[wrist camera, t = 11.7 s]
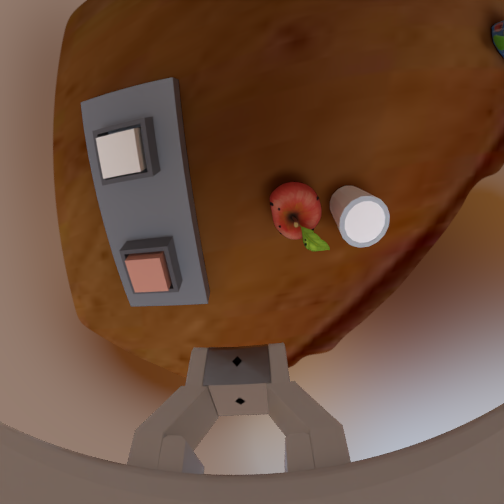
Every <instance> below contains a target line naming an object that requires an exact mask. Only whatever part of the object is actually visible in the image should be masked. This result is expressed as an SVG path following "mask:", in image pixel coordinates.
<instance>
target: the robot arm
mask: <svg viewBox="0 0 504 504" xmlns="http://www.w3.org/2000/svg"><path fill="white" fill-rule="evenodd" d="M268 348H269V349H268ZM257 414H258V415H259V414H269V416H270V417H271V418H272V420H273V421H274V422H275V423H276V425H277V426H278V427H279V428H280V429H281V431H282V432H283V433H284V435H285V436H286V438H285V473H273V474H256V475H211V474H204V466H203V464H202V463H201V461H200V460H199V459H198V457H197V456H196V454H195V453H194V450H195V448H196V447H197V446H198V444H199V443H200V442H201V440H202V439H203V438H204V436H205V435H206V434H207V432H208V431H209V430H210V428H211V427H212V426H213V424H214V423H215V421H216V420H217V419H218V416H233V415H257ZM0 504H504V403H503V404H502V405H500V406H498V407H497V408H495V409H493V410H491V411H489V412H488V413H486V414H484V415H482V416H480V417H478V418H476V419H474V420H472V421H470V422H468V423H466V424H464V425H462V426H460V427H457V428H455V429H453V430H451V431H448V432H446V433H444V434H441V435H439V436H436V437H434V438H431V439H429V440H426V441H423V442H421V443H418V444H415V445H412V446H409V447H406V448H403V449H400V450H397V451H393V452H390V453H387V454H383V455H380V456H376V457H372V458H368V459H364V460H360V461H355V462H351V461H350V456H349V452H348V447H347V443H346V439H345V434H344V430H343V426H342V425H341V424H340V423H339V422H338V421H337V420H336V419H335V418H333V416H331V415H330V414H329V413H328V412H327V411H326V410H325V409H324V408H323V407H321V406H320V405H319V404H318V403H317V402H316V401H315V400H314V399H313V398H311V396H310V395H308V394H307V393H306V392H305V391H304V390H303V389H302V388H301V387H300V386H299V385H298V384H297V383H296V382H295V381H291V382H290V379H289V372H288V365H287V357H286V350H285V345H284V343H277V344H269V345H268V344H265V345H253V346H239V347H209V348H193V350H192V353H191V358H190V363H189V369H188V374H187V380H186V385H185V386H181V387H180V388H179V389H178V390H177V391H176V392H174V393H173V394H172V395H171V396H170V397H169V398H168V399H167V400H166V401H165V402H164V403H163V404H162V405H161V406H160V407H159V408H158V409H157V410H156V411H155V412H154V413H153V414H152V415H151V416H150V417H149V418H148V419H146V421H144V422H143V423H142V424H141V425H140V426H139V427H138V428H137V429H136V430H135V433H134V438H133V441H132V445H131V450H130V454H129V458H128V462H127V465H126V464H121V463H116V462H112V461H108V460H103V459H99V458H95V457H92V456H88V455H84V454H81V453H78V452H74V451H71V450H68V449H65V448H62V447H59V446H56V445H53V444H50V443H48V442H45V441H42V440H40V439H38V438H35V437H33V436H30V435H28V434H25V433H23V432H21V431H18V430H16V429H14V428H12V427H10V426H8V425H6V424H4V423H2V422H0Z"/></svg>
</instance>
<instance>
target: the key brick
mask: <svg viewBox="0 0 504 504" xmlns="http://www.w3.org/2000/svg"><path fill="white" fill-rule="evenodd" d="M125 263H126V267H127V270H128V273H129V276H130V279H131V282H132V285H133V288H134V291H135V292H158V291H169V288H170V286H171V283H172V281H171V277H170V273H169V269H168V265H167V261H166V257H165V253H164V251H157V252H146V253H134V254H129V255H128V257H127V258H126V260H125Z"/></svg>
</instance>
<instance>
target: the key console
mask: <svg viewBox="0 0 504 504" xmlns="http://www.w3.org/2000/svg"><path fill="white" fill-rule="evenodd" d="M81 110H82V118H83V125H84V132H85V138H86V144H87V150H88V156H89V161H90V166H91V171H92V176H93V181H94V186H95V190H96V194H97V199H98V203H99V207H100V211H101V215H102V218H103V222H104V226H105V229H106V233H107V236H108V240H109V243H110V247H111V250H112V253H113V256H114V260H115V263H116V266H117V269H118V272H119V275H120V278H121V281H122V283H123V286H124V289H125V292H126V295H127V297H128V300H129V303H130V305H131V306H164V305H189V304H208V300H209V294H210V290H209V285H208V280H207V274H206V269H205V264H204V258H203V253H202V247H201V242H200V236H199V230H198V224H197V218H196V212H195V206H194V199H193V193H192V186H191V179H190V172H189V165H188V158H187V151H186V143H185V135H184V127H183V119H182V110H181V101H180V92H179V82H178V79H175V78H173V77H172V78H167V79H162V80H157V81H153V82H149V83H145V84H140V85H137V86H133V87H129V88H125V89H122V90H118V91H115V92H111V93H108V94H105V95H102V96H99V97H96V98H93V99H90V100H87V101H84V102H81ZM139 127H141V133H142V140H143V147H144V153H145V159H146V165H147V168H146V169H144V170H142V171H141V172H136V173H130V174H125V175H120V176H115V177H110V178H105V179H103V175H102V170H101V165H100V160H99V154H98V148H97V142H96V138H98V137H102V136H106V135H109V134H113V133H117V132H121V131H125V130H130V129H134V128H139ZM157 251H164V253H165V257H166V261H167V265H168V269H169V273H170V277H171V281H172V283H171V286H170V288H169V291H158V292H135V291H134V288H133V285H132V282H131V279H130V276H129V273H128V270H127V267H126V263H125V260H126V258H127V257H128V255H129V254H134V253H146V252H157Z"/></svg>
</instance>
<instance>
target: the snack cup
mask: <svg viewBox="0 0 504 504" xmlns="http://www.w3.org/2000/svg"><path fill="white" fill-rule="evenodd" d="M492 37H493V43H494V45H495V46H496V48H497V50H498V51H499V53H500V54H501V55H502V56H503V58H504V21H501V22H498V23H496V24H494V25H493V26H492Z"/></svg>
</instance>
